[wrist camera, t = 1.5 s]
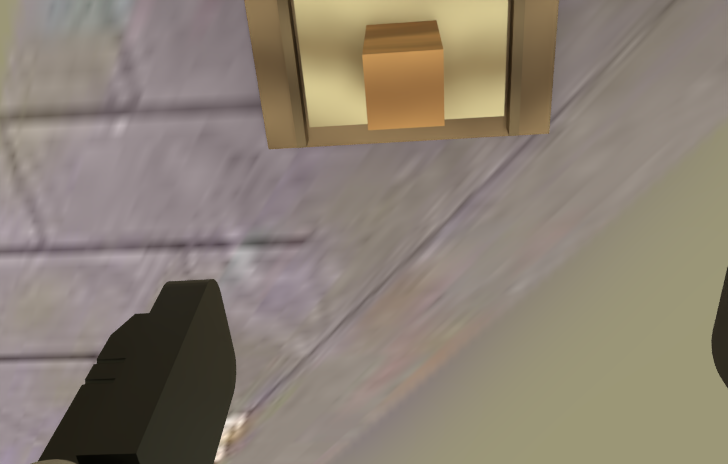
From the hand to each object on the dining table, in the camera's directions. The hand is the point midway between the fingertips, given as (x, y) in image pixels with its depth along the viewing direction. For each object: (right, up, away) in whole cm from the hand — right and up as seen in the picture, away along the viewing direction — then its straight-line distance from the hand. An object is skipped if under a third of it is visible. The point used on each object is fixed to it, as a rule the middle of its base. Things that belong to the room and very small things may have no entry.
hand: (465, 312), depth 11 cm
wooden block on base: (+1, +12, +29) cm, 31 cm away
